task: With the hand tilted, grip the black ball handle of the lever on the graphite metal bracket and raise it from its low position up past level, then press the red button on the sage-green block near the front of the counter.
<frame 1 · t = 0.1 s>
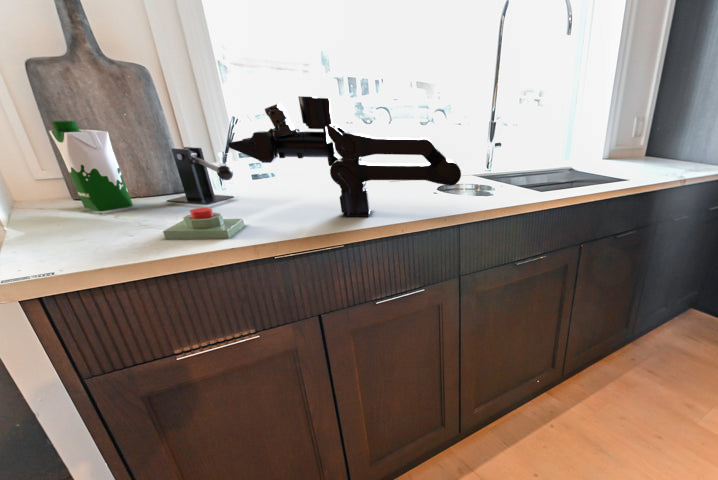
hand: (236, 143, 100), 17 cm above the counter, tool horizontal, fingers open, 9 cm apart
bracket: (202, 202, 117), on the counter
lever: (207, 164, 112), point 10 cm above the counter, hinge at -22.0°
milk carton: (111, 210, 107), on the counter
button: (202, 214, 91), point 4 cm above the counter, slide at 0.1 cm
button block: (207, 232, 93), on the counter
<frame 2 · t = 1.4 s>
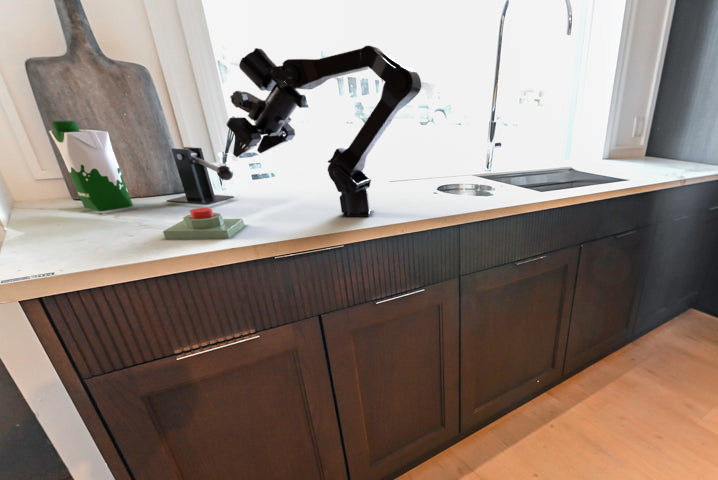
hand: (247, 153, 109), 13 cm above the counter, tool tilted 45°, fingers open, 9 cm apart
nothing on the counter moved.
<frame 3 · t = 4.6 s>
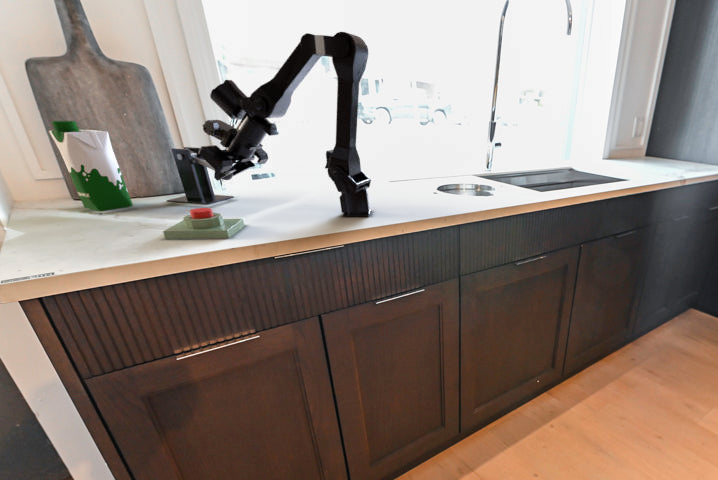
hand: (221, 178, 113), 7 cm above the counter, tool tilted 45°, fingers closed on lever, 3 cm apart
lever: (207, 164, 112), point 10 cm above the counter, hinge at -22.0°, touching gripper
everything else where it was.
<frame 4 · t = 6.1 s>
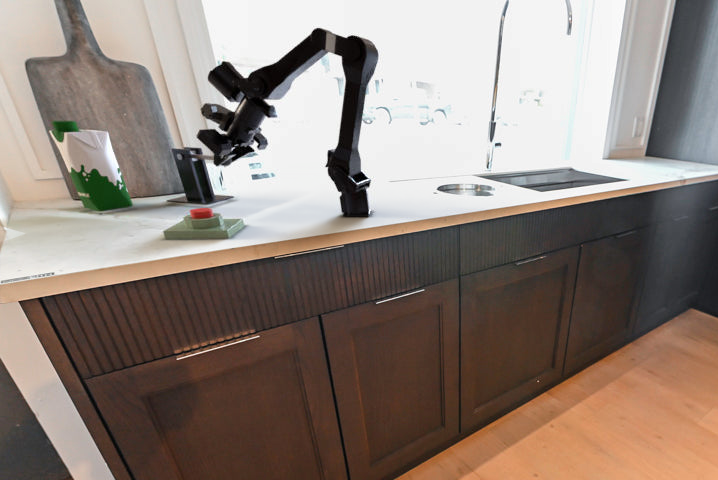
hand: (220, 164, 111), 10 cm above the counter, tool tilted 45°, fingers closed on lever, 3 cm apart
lever: (206, 157, 111), point 12 cm above the counter, hinge at -1.3°, touching gripper
everything else where it was.
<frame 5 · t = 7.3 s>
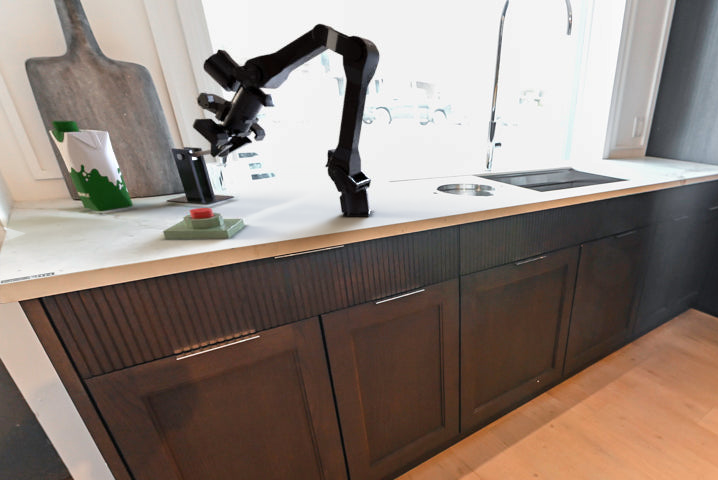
hand: (218, 155, 110), 13 cm above the counter, tool tilted 45°, fingers closed on lever, 3 cm apart
lever: (205, 152, 110), point 13 cm above the counter, hinge at 10.9°, touching gripper
everything else where it was.
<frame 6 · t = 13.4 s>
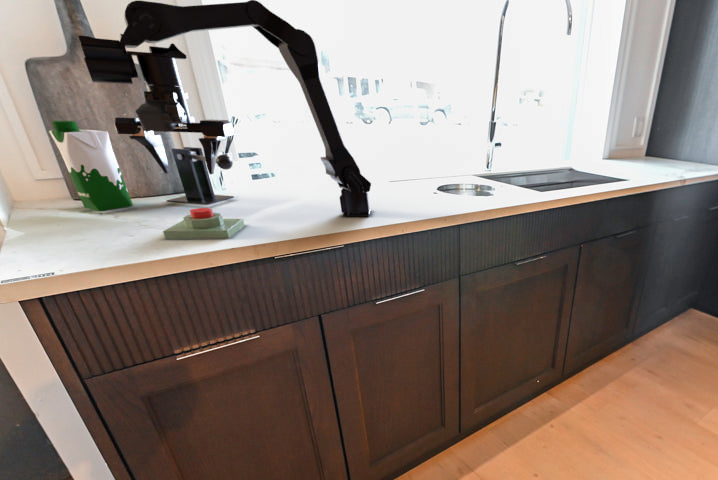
hand: (189, 173, 87), 12 cm above the counter, tool pointing down, fingers open, 8 cm apart
lever: (207, 159, 111), point 11 cm above the counter, hinge at -6.0°
everything else where it was.
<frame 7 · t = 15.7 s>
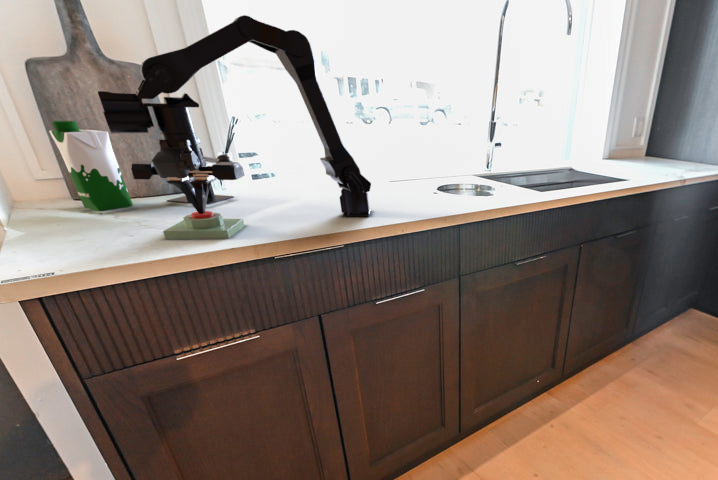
hand: (201, 213, 91), 4 cm above the counter, tool pointing down, fingers closed, pressing on button
button: (203, 217, 91), point 3 cm above the counter, slide at -0.6 cm, touching gripper
everything else where it was.
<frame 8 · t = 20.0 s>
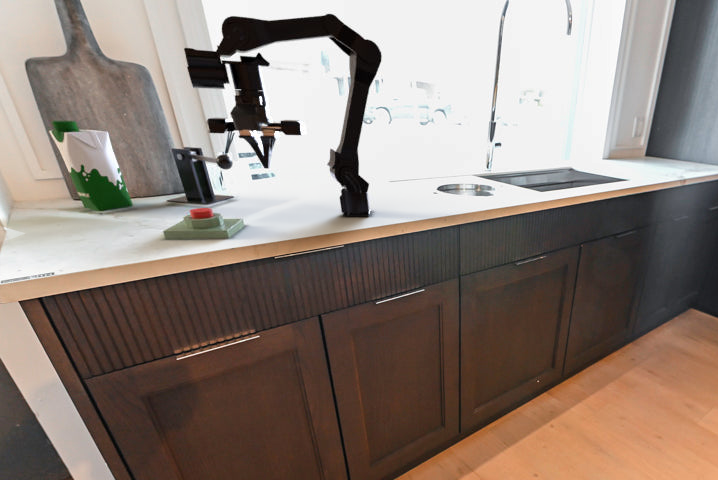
hand: (266, 168, 98), 12 cm above the counter, tool pointing down, fingers closed
button: (202, 214, 91), point 4 cm above the counter, slide at 0.1 cm
everything else where it was.
at the end: lever reached +11° during the clip, -6° at the end; lever at -6° (first picture: -22°); button pushed in 1.1 cm at the most during the clip, back to where it started at the end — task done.
